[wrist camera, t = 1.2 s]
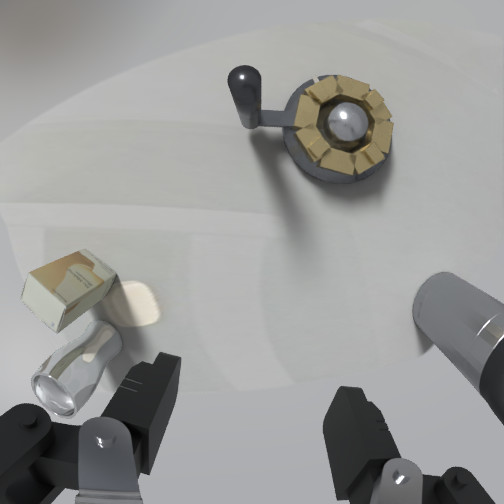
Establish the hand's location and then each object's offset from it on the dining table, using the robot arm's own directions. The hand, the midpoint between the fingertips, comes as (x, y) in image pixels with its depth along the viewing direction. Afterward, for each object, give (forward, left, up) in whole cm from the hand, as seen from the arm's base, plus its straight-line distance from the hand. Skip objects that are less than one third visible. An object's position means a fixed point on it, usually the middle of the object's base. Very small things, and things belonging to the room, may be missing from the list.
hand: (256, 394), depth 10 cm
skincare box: (+21, +9, -28) cm, 36 cm away
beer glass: (+19, +19, -28) cm, 39 cm away
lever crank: (-3, -15, -26) cm, 30 cm away
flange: (-6, -15, -27) cm, 32 cm away
